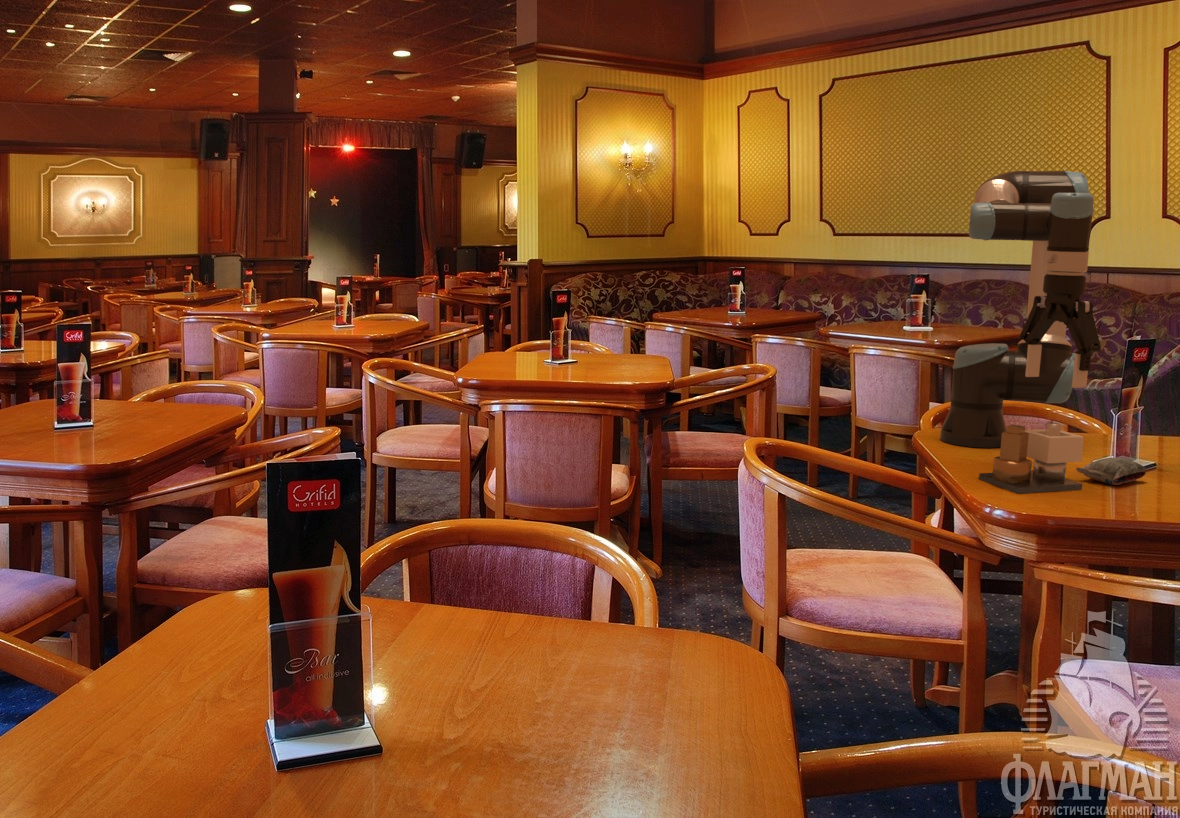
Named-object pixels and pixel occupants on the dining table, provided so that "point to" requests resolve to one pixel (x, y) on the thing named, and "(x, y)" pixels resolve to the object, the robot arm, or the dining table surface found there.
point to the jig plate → (1033, 484)
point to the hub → (1013, 457)
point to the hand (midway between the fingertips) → (1054, 381)
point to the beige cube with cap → (1054, 447)
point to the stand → (1050, 469)
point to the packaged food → (1113, 470)
